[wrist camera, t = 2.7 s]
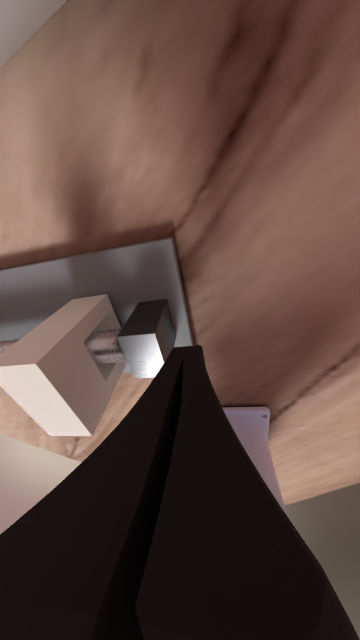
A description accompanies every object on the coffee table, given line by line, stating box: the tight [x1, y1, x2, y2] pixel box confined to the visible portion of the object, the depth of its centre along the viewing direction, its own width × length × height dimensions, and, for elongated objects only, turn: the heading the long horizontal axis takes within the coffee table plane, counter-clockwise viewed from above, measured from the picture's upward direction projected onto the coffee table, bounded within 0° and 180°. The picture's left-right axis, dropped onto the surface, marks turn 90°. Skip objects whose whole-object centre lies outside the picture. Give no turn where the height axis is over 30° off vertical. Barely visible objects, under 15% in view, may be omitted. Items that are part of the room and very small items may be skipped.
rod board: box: [0, 236, 194, 378], centre depth 14 cm, size 10×24×5 cm, turn 101°
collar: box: [0, 294, 127, 436], centre depth 11 cm, size 5×2×6 cm, turn 11°
